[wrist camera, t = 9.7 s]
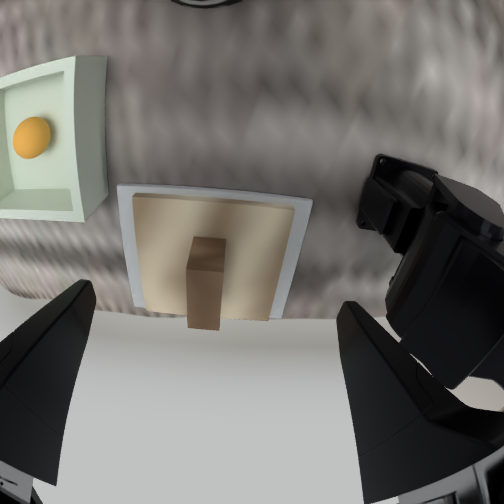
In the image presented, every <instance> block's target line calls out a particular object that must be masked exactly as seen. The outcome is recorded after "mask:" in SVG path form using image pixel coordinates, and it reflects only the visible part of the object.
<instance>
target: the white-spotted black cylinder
mask: <svg viewBox="0 0 504 504" xmlns="http://www.w3.org/2000/svg"><path fill="white" fill-rule="evenodd" d="M171 1H173V2H175V3H178V4H180V5H184V6H188V7H193V8H217V7H222V6H227V5H231V4H234V3H237V2H240V1H243V0H171Z"/></svg>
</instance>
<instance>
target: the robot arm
mask: <svg viewBox="0 0 504 504" xmlns="http://www.w3.org/2000/svg"><path fill="white" fill-rule="evenodd" d="M381 159H384V161H383V162H382V163H380V160H381ZM433 174H434V176H433V177H432V175H433ZM362 221H364V223H363V224H361V222H362ZM356 223H357V225H358V227H359V228H361V229H367V230H374V231H377V232H378V233H379V234H380V235H383V237H384V238H385V240H386V241H387V242H388V244H389V245H390V247H391V248H392V249H393V251H394V252H395V253H400V254H401V256H402V257H403V258H402V260H401V262H400V265H399V267H398V269H397V271H396V273H395V275H394V276H393V277H392V278H391V280H390V282H389V286H390V287H389V289H388V291H387V294H386V298H385V302H386V308H387V314H386V318H387V320H388V322H389V324H390V326H391V327H392V329H393V330H394V331H395V332H396V334H397V335H398V336H399V337H400V338H401V341H400V342H399V343H398V342H397V341H396V340H395V339H394V338H393V337H392V336H391V335H390V334H389V333H388V332H387V331H386V330H385V329H384V328H383V327H382V326H381V325H380V324H379V323H378V322H377V321H376V320H375V319H374V318H373V317H372V316H371V315H370V314H369V313H367V312H366V311H365V310H364V309H363V308H362V307H361V306H360V305H359V304H358V303H357V302H355V301H345V302H344V303H343V305H342V307H341V309H340V311H339V313H338V316H337V320H336V321H337V331H338V341H339V349H340V359H341V364H342V369H343V374H344V378H345V384H346V389H347V394H348V399H349V404H350V409H351V415H352V420H353V427H354V433H355V439H356V446H357V452H358V457H359V458H358V460H359V466H360V475H361V482H362V491H363V500H364V504H371V503H375V502H378V501H382V500H386V499H389V498H392V497H396V496H398V499H399V503H398V504H504V412H498V411H490V410H483V409H476V408H472V407H469V406H467V405H465V404H464V403H463V402H461V401H460V400H459V399H458V398H457V397H455V396H454V395H453V394H452V393H451V392H450V391H449V390H447V389H446V388H448V389H451V390H452V389H455V388H456V387H457V386H458V385H459V384H461V382H463V380H465V378H467V377H468V376H470V377H476V378H482V379H488V380H493V381H494V382H496V383H497V384H498V385H499V386H500V387H501V388H502V389H503V390H504V214H503V212H502V209H501V207H500V205H499V204H498V203H497V202H496V201H494V200H493V199H491V198H490V197H488V196H487V195H486V194H484V193H483V192H481V191H480V190H478V189H476V188H473V187H471V186H468V185H466V184H463V183H460V182H457V181H455V180H452V179H449V178H446V177H443V176H440V175H439V174H438V172H437V171H435V170H434V169H431V168H428V167H425V166H422V165H418V164H415V163H412V162H409V161H405V160H402V159H398V158H395V157H391V156H388V155H384V154H379V155H377V156H376V158H375V162H374V165H373V169H372V172H371V176H370V178H369V179H368V180H367V184H366V187H365V190H364V194H363V197H362V200H361V203H360V211H359V214H358V218H357V221H356ZM95 306H96V295H95V292H94V289H93V285H92V282H91V281H90V280H84V279H80V280H78V281H77V282H76V283H74V284H73V285H72V286H70V287H69V288H68V289H66V290H65V291H64V292H62V293H61V294H60V295H58V296H57V297H56V298H54V299H53V300H52V301H50V302H49V303H48V304H46V305H45V306H44V307H43V308H41V309H40V310H39V311H38V312H36V313H35V314H34V315H33V316H31V317H30V318H29V319H28V320H27V321H25V322H24V323H23V324H21V325H20V326H19V327H18V328H17V329H15V331H14V332H12V333H11V334H9V335H8V336H7V337H6V338H5V339H4V340H2V341H1V342H0V504H43V503H42V501H41V500H40V498H39V496H38V495H37V493H36V491H35V489H34V488H33V486H32V484H33V478H37V479H39V480H42V481H44V482H46V483H49V484H51V485H54V486H56V484H57V477H58V468H59V461H60V454H61V447H62V441H63V435H64V430H65V424H66V419H67V414H68V410H69V405H70V401H71V397H72V393H73V389H74V385H75V381H76V378H77V374H78V370H79V367H80V363H81V360H82V357H83V353H84V350H85V347H86V344H87V340H88V336H89V332H90V327H91V323H92V318H93V314H94V310H95ZM409 353H410V354H412V355H413V356H414V357H416V358H417V359H418V360H419V361H421V362H422V363H423V364H424V366H425V367H426V368H427V369H428V370H429V372H430V373H431V374H432V375H431V374H430V373H429V372H427V370H426V369H424V368H423V366H422V365H420V363H418V362H417V361H416V360H415V359H414V358H413V357H412V356H411V355H410V354H409ZM445 387H446V388H445Z"/></svg>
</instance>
